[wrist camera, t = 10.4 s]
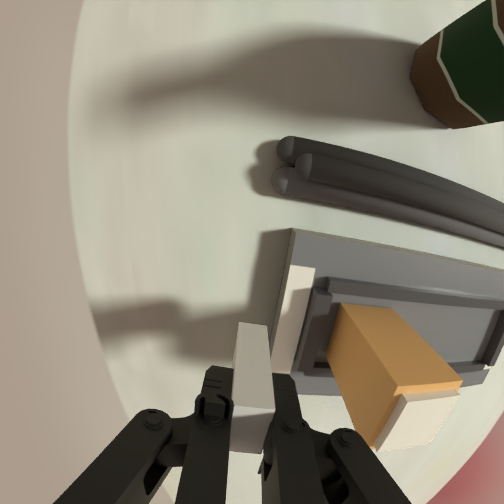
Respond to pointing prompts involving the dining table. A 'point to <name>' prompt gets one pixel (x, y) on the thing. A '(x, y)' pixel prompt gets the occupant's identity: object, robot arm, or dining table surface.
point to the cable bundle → (385, 189)
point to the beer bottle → (464, 69)
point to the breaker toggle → (389, 378)
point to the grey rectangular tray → (383, 305)
